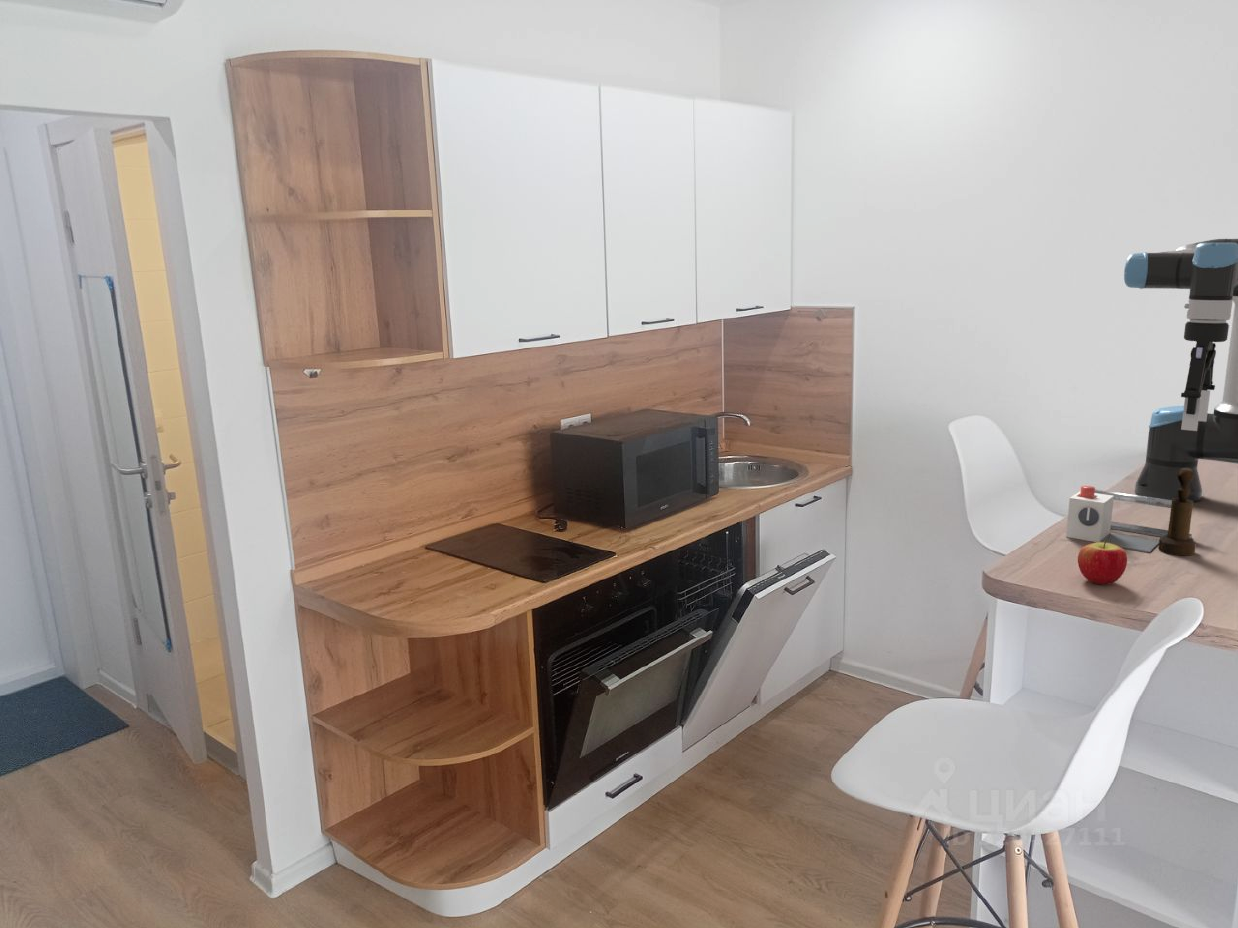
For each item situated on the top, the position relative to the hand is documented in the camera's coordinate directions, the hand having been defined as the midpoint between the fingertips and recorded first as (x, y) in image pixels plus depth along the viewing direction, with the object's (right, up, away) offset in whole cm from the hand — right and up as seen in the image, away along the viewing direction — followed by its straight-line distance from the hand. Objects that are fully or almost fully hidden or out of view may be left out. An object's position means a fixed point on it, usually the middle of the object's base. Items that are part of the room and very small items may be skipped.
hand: (1193, 425), depth 196 cm
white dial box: (-13, -24, +17) cm, 32 cm away
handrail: (-1, -23, +20) cm, 31 cm away
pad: (-7, -25, +12) cm, 29 cm away
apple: (-26, -31, -12) cm, 42 cm away
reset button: (-14, -18, +16) cm, 28 cm away
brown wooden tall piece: (0, -27, +6) cm, 27 cm away
